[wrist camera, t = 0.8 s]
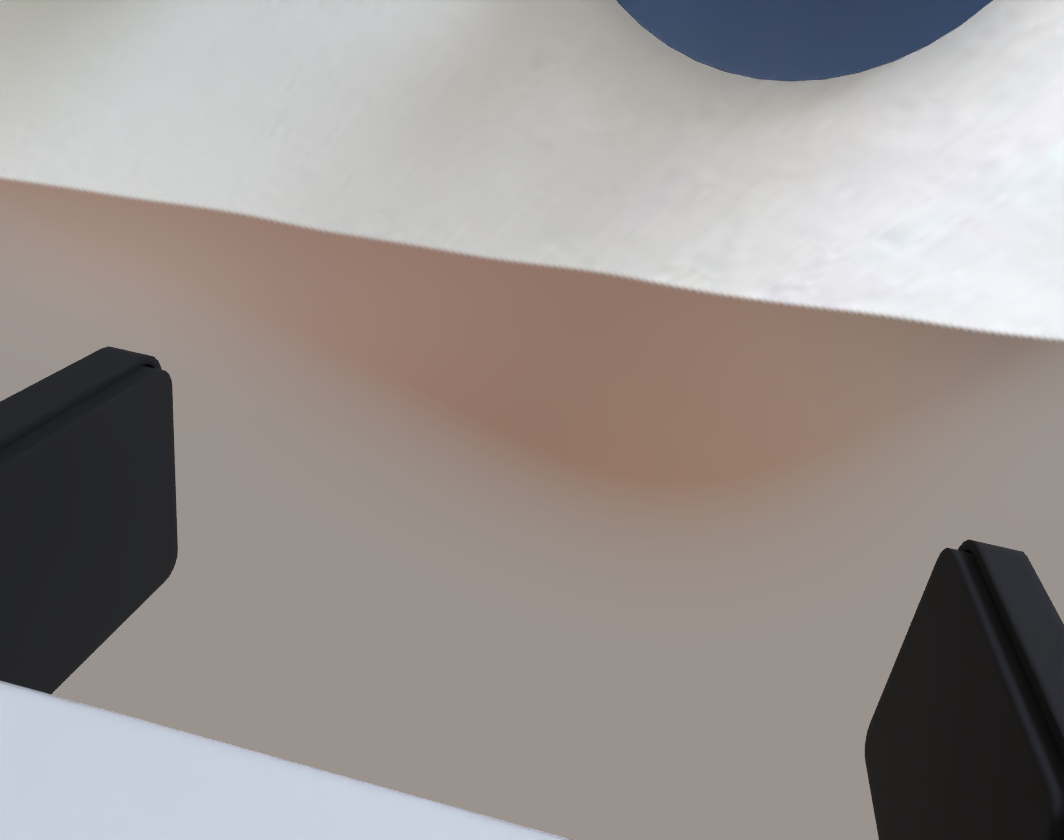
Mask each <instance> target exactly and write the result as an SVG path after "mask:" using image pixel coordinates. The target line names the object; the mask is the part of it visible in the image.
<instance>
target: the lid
mask: <svg viewBox="0 0 1064 840" xmlns="http://www.w3.org/2000/svg"><path fill="white" fill-rule="evenodd" d="M991 1H993V0H617V2H618V3H619V4H620V5H621V6H622V7H623V8H624V9H625V10H626V11H627V12H628V13H629V14H630V15H631V16H632V17H633V18H634V19H635V20H636V21H637V22H638V23H639V24H640V25H641V26H642V27H644V28H645V29H646V30H648V31H649V32H650V33H652V34H653V35H654V36H656V37H657V38H658V39H660V40H661V41H663V42H664V43H665V44H667V45H668V46H670V47H672V48H673V49H675V50H677V51H679V52H681V53H683V54H684V55H686V56H688V57H690V58H692V59H694V60H695V61H698V62H700V63H703V64H706V65H709V66H711V67H714V68H717V69H719V70H722V71H725V72H728V73H733V74H737V75H742V76H747V77H751V78H756V79H765V80H779V81H806V80H822V79H829V78H834V77H839V76H845V75H850V74H855V73H860V72H863V71H866V70H869V69H872V68H875V67H878V66H881V65H884V64H887V63H890V62H893V61H895V60H898V59H900V58H902V57H904V56H906V55H908V54H911V53H913V52H915V51H917V50H919V49H921V48H923V47H926V46H928V45H929V44H931V43H933V42H934V41H936V40H938V39H939V38H941V37H942V36H944V35H946V34H947V33H949V32H951V31H952V30H954V29H955V28H957V27H959V26H960V25H962V24H963V23H964V22H966V21H967V20H968V19H969V18H971V17H972V16H973V15H975V14H976V13H977V12H978V11H980V10H981V9H982V8H984V7H985V6H986V5H987V4H989V3H990V2H991Z"/></svg>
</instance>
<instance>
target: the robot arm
mask: <svg viewBox="0 0 1064 840" xmlns="http://www.w3.org/2000/svg"><path fill="white" fill-rule="evenodd" d="M174 459H175V457H174V429H173V397H172V381H171V378H170V376H169V374H168V373H167V372H166V371H164V370H162V369H161V366H160V364H159V362H158V360H156V359H155V357H153V356H148V355H145V354H140V353H135V352H131V351H127V350H122V349H118V348H113V347H105V348H102V349H100V350H98V351H96V352H94V353H92V354H90V355H88V356H87V357H85V358H83V359H81V360H79V361H77V362H75V363H73V364H71V365H69V366H67V367H65V368H64V369H62V370H60V371H58V372H56V373H54V374H52V375H50V376H48V377H46V378H45V379H43V380H41V381H39V382H37V383H35V384H33V385H31V386H29V387H28V388H26V389H24V390H22V391H20V392H18V393H16V394H14V395H12V396H10V397H8V398H7V399H5V400H3V401H1V402H0V840H571V839H567V838H564V837H560V836H557V835H553V834H549V833H546V832H542V831H539V830H535V829H531V828H528V827H524V826H520V825H517V824H514V823H510V822H506V821H502V820H499V819H496V818H492V817H489V816H485V815H481V814H478V813H474V812H471V811H467V810H463V809H460V808H456V807H453V806H449V805H445V804H442V803H438V802H435V801H431V800H428V799H424V798H420V797H417V796H413V795H410V794H406V793H403V792H399V791H395V790H392V789H388V788H385V787H381V786H377V785H374V784H370V783H367V782H363V781H360V780H356V779H353V778H349V777H345V776H342V775H338V774H335V773H331V772H327V771H324V770H320V769H317V768H313V767H309V766H306V765H302V764H299V763H295V762H292V761H288V760H284V759H281V758H277V757H274V756H270V755H266V754H263V753H259V752H256V751H252V750H249V749H245V748H241V747H238V746H234V745H230V744H227V743H224V742H220V741H216V740H213V739H209V738H206V737H202V736H198V735H195V734H191V733H187V732H184V731H181V730H177V729H173V728H170V727H166V726H163V725H159V724H155V723H152V722H148V721H145V720H141V719H138V718H134V717H130V716H127V715H123V714H120V713H116V712H112V711H109V710H105V709H102V708H98V707H94V706H91V705H87V704H83V703H80V702H76V701H73V700H69V699H65V698H62V697H58V696H55V695H51V694H52V693H53V692H54V691H55V690H56V689H57V688H58V687H59V686H60V685H61V684H62V683H63V682H64V681H65V680H66V679H67V678H68V677H69V676H70V674H72V673H73V672H74V671H75V670H76V669H77V668H78V667H79V666H80V665H81V664H82V663H83V662H84V661H85V660H86V659H87V658H88V657H89V656H90V655H91V654H92V653H93V652H94V651H95V650H96V649H97V648H98V647H99V646H100V645H101V644H102V643H103V642H104V641H105V640H106V639H107V638H108V637H109V636H110V635H111V634H112V633H113V632H114V631H115V630H116V629H117V628H118V627H119V626H120V625H121V624H122V623H123V622H124V621H125V620H126V619H127V618H128V617H129V616H130V615H131V614H132V613H133V612H134V611H135V610H136V609H138V608H139V607H140V606H141V604H143V602H144V601H146V600H147V599H148V598H149V596H150V595H152V593H154V592H155V591H156V589H158V587H160V586H161V585H162V584H163V583H164V582H165V581H166V579H167V578H168V577H169V575H170V574H171V572H172V570H173V568H174V566H175V563H176V559H177V551H178V547H177V517H176V486H175V460H174ZM865 761H866V767H867V773H868V778H869V784H870V790H871V796H872V802H873V807H874V813H875V818H876V824H877V830H878V836H879V840H1064V624H1063V622H1062V621H1061V619H1060V617H1059V615H1058V613H1057V611H1056V609H1055V607H1054V606H1053V604H1052V602H1051V600H1050V598H1049V596H1048V595H1047V593H1046V591H1045V589H1044V587H1043V585H1042V583H1041V581H1040V580H1039V578H1038V576H1037V574H1036V572H1035V570H1034V568H1033V567H1032V565H1031V563H1030V561H1029V559H1028V557H1027V556H1026V555H1025V554H1024V552H1021V551H1017V550H1013V549H1008V548H1004V547H999V546H994V545H990V544H986V543H981V542H977V541H973V540H967V541H965V542H963V543H962V545H961V546H960V547H959V549H958V550H955V549H950V548H946V549H944V550H943V551H942V552H941V553H940V555H939V558H938V559H937V562H936V564H935V566H934V569H933V571H932V574H931V576H930V578H929V581H928V583H927V586H926V588H925V591H924V593H923V595H922V598H921V600H920V603H919V605H918V608H917V610H916V613H915V615H914V618H913V620H912V622H911V625H910V627H909V630H908V632H907V635H906V637H905V640H904V642H903V645H902V647H901V649H900V652H899V654H898V657H897V659H896V661H895V664H894V667H893V669H892V672H891V674H890V676H889V679H888V681H887V684H886V686H885V688H884V691H883V693H882V696H881V698H880V700H879V703H878V705H877V708H876V710H875V713H874V715H873V718H872V720H871V722H870V725H869V729H868V731H867V736H866V742H865Z"/></svg>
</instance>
